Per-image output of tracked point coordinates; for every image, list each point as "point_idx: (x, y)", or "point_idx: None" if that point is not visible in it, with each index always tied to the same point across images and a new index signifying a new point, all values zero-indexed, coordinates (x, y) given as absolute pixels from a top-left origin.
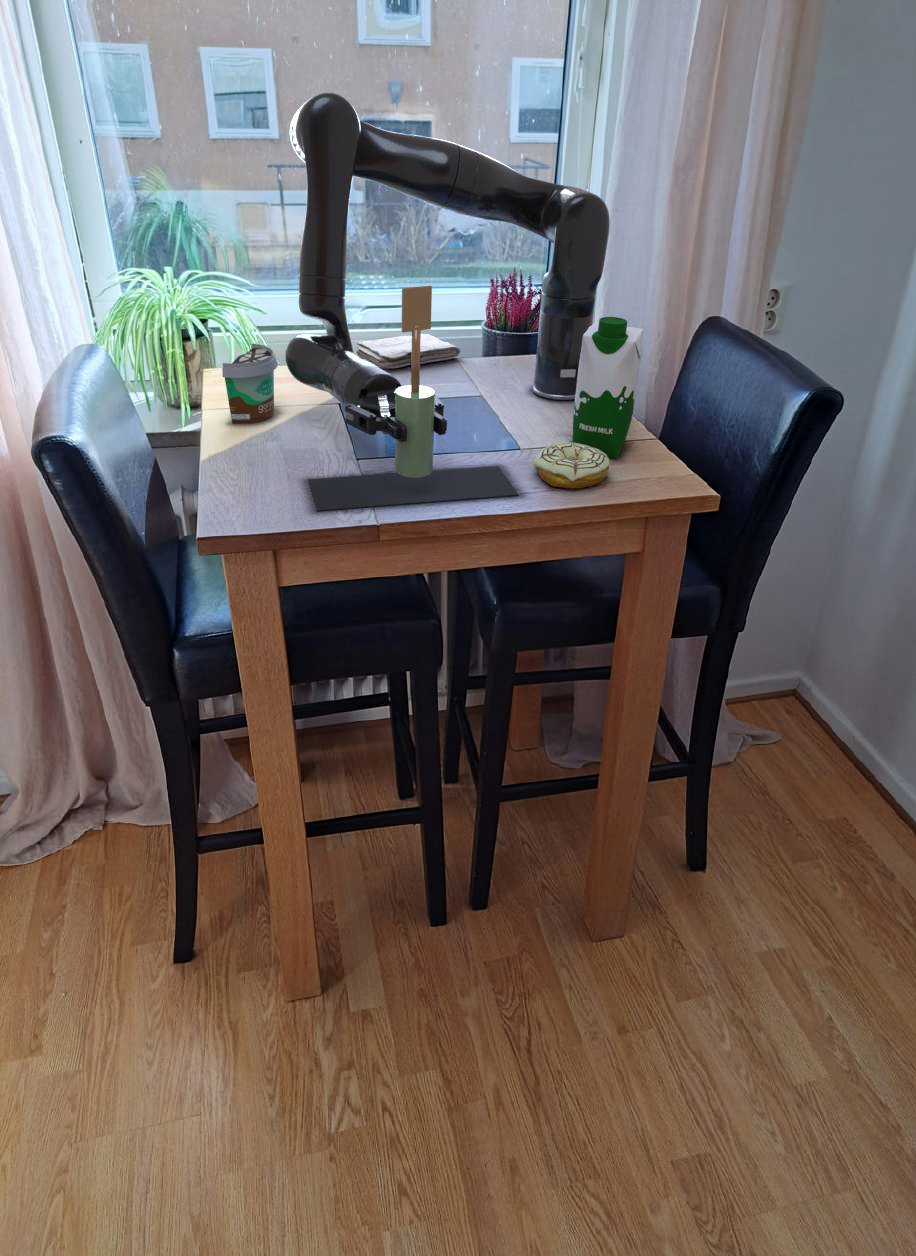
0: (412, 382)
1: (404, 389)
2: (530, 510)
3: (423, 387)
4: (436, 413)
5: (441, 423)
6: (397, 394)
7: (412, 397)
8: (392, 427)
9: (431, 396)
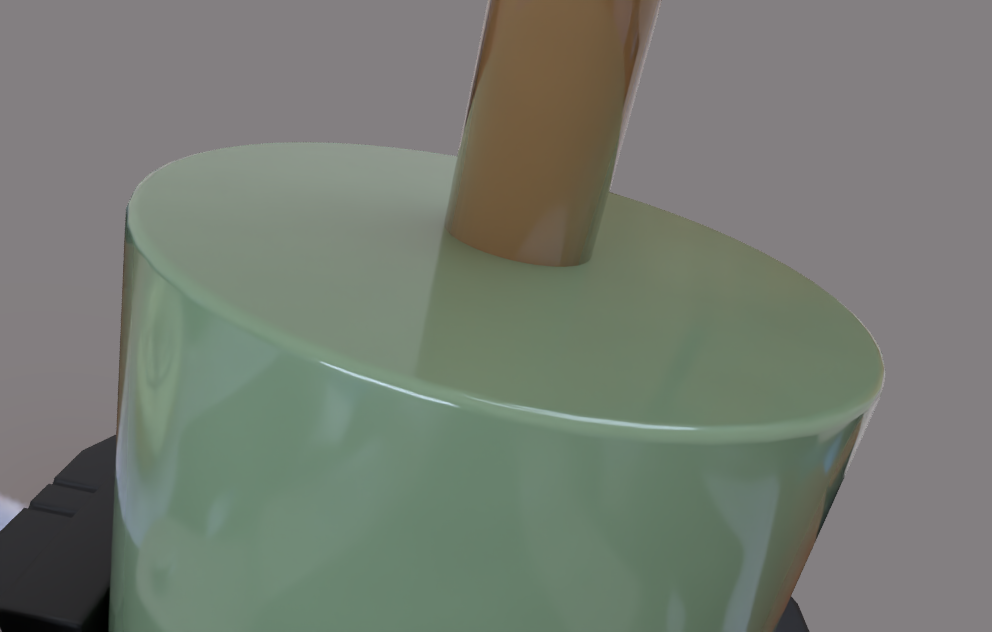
0: (633, 66)
1: (666, 325)
2: (14, 510)
3: (237, 215)
4: (85, 510)
5: None
6: (858, 322)
7: (667, 217)
8: (804, 626)
9: (414, 154)
